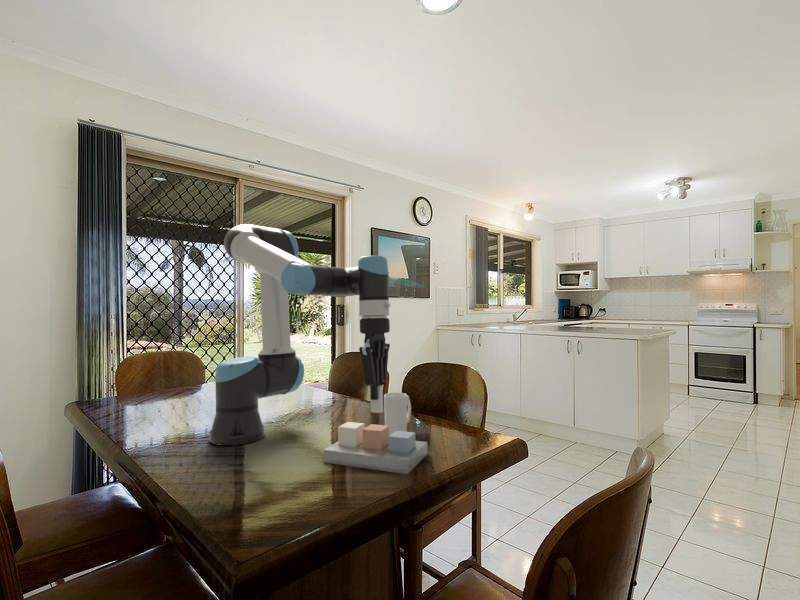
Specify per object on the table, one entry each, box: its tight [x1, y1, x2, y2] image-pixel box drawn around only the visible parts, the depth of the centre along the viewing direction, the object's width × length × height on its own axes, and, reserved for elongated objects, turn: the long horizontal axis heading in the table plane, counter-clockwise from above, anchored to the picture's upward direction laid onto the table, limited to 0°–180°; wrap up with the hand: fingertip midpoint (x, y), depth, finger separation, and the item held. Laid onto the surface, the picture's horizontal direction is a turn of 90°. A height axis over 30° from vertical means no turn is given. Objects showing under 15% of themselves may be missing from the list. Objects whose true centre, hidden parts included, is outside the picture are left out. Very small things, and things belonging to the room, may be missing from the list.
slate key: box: [389, 431, 416, 454], centre depth 99 cm, size 5×5×5 cm
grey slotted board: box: [322, 440, 428, 475], centre depth 101 cm, size 22×14×3 cm, turn 68°
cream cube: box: [337, 421, 366, 447], centre depth 104 cm, size 5×5×5 cm
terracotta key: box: [363, 423, 389, 451], centre depth 102 cm, size 5×5×5 cm
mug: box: [383, 392, 412, 436], centre depth 121 cm, size 10×7×12 cm, turn 137°
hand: (376, 411), depth 102 cm, fingers closed
